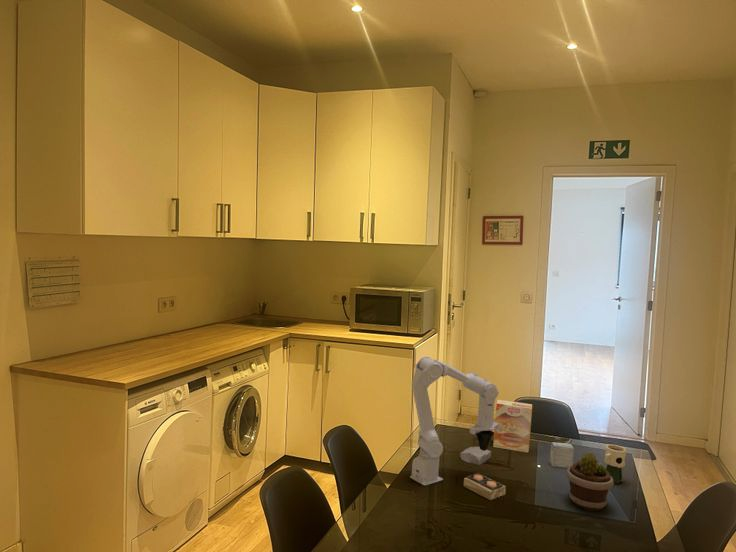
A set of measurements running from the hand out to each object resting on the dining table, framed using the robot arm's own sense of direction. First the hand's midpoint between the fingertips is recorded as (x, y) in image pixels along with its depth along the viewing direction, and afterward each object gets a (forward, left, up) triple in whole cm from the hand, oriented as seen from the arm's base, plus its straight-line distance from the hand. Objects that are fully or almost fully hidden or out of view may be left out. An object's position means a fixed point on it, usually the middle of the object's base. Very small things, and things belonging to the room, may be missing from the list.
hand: (483, 449), depth 197 cm
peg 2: (-9, -12, -9) cm, 18 cm away
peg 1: (-9, -6, -9) cm, 14 cm away
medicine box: (+37, -10, -10) cm, 40 cm away
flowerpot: (+15, -34, -10) cm, 39 cm away
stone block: (+11, +13, -10) cm, 20 cm away
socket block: (-9, -9, -10) cm, 16 cm away
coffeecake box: (+35, +13, -10) cm, 39 cm away
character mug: (+42, -29, -10) cm, 52 cm away
